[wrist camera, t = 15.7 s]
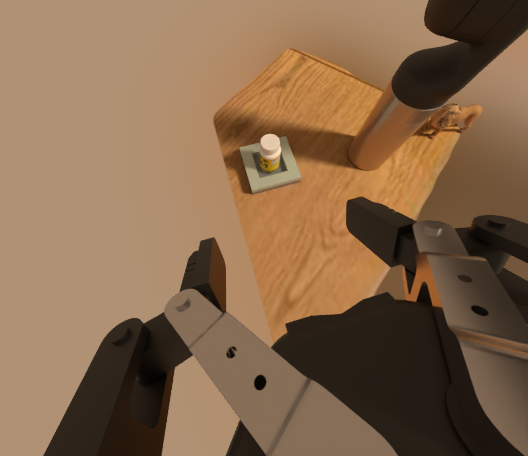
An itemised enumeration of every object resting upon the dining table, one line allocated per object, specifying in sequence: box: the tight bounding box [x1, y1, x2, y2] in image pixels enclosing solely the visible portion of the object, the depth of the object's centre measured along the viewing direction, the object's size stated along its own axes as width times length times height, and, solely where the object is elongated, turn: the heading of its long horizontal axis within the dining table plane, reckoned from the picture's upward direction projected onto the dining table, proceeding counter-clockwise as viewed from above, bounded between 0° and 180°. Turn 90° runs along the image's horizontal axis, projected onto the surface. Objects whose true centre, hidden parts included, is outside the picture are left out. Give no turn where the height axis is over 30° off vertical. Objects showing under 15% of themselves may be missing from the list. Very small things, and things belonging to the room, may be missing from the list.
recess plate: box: [240, 136, 301, 194], centre depth 46 cm, size 12×12×2 cm
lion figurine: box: [423, 104, 482, 139], centre depth 45 cm, size 15×5×9 cm, turn 110°
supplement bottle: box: [259, 134, 281, 174], centre depth 42 cm, size 5×5×8 cm
